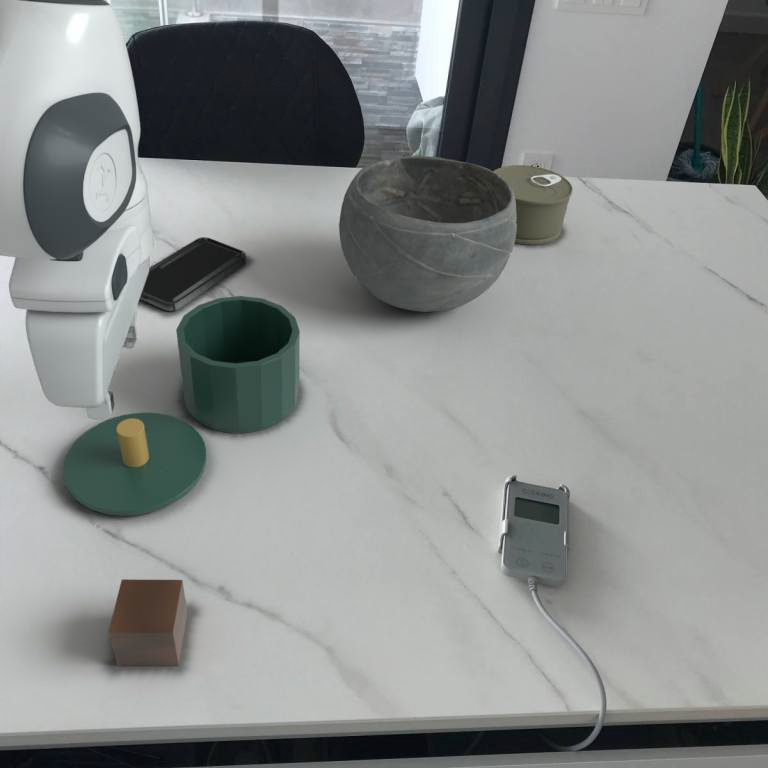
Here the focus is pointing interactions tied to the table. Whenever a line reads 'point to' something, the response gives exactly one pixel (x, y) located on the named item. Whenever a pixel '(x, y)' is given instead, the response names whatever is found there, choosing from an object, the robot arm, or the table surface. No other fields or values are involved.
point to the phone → (190, 273)
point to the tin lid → (134, 463)
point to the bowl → (427, 231)
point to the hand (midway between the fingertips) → (115, 376)
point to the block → (148, 623)
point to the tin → (239, 363)
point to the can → (537, 202)
